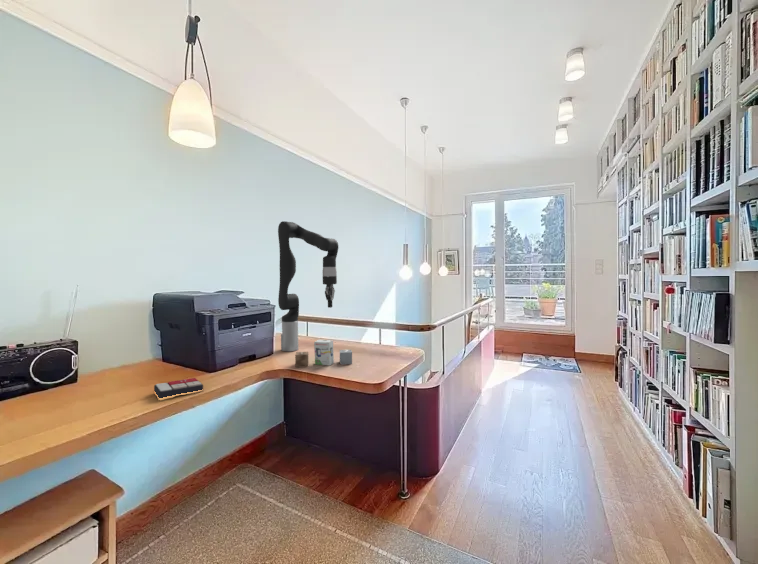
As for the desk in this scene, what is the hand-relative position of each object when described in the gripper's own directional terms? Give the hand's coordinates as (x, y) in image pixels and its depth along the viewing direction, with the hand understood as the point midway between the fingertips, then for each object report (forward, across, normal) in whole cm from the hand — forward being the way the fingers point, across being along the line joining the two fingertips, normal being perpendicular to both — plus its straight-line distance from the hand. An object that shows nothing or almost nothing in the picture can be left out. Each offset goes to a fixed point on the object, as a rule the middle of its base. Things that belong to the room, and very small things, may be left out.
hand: (330, 307), depth 189 cm
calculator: (+28, +58, -47) cm, 79 cm away
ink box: (+27, +14, 0) cm, 31 cm away
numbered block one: (+27, +17, -10) cm, 34 cm away
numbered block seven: (+27, +11, +10) cm, 31 cm away
